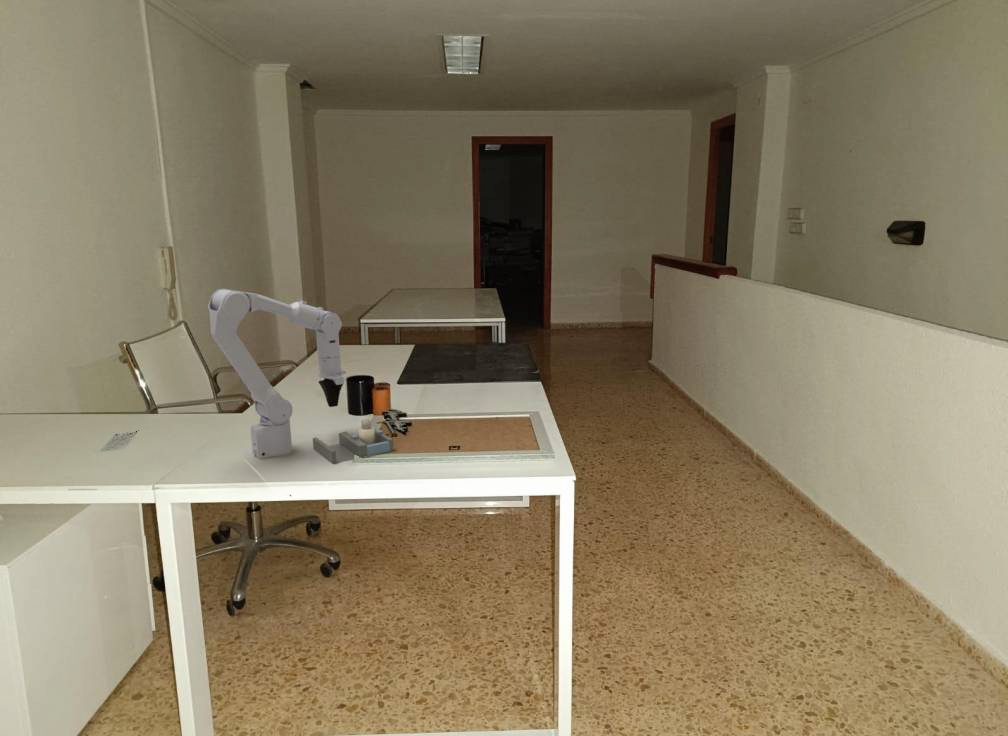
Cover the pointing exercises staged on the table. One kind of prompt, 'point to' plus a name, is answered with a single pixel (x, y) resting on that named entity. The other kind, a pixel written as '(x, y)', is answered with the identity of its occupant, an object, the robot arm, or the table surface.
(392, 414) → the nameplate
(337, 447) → the grey walled tray piece
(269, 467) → the table surface
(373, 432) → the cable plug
